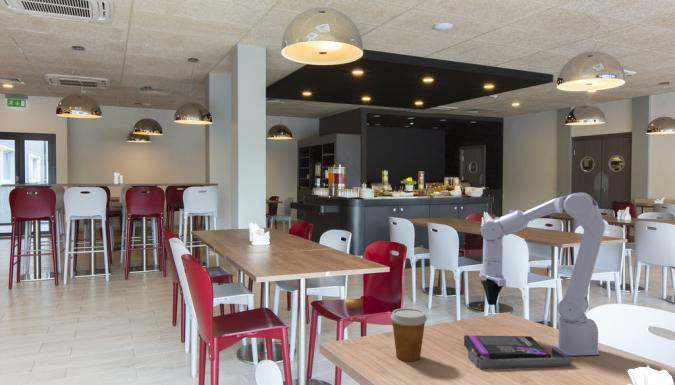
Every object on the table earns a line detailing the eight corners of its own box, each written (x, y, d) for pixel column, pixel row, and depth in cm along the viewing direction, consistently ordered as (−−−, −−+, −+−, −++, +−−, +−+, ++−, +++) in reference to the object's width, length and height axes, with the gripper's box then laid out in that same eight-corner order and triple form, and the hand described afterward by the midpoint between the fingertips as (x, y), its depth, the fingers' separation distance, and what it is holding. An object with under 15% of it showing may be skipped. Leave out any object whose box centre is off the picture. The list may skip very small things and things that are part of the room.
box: (476, 366, 124) (552, 366, 124) (476, 353, 124) (552, 353, 123) (463, 347, 138) (532, 346, 138) (463, 335, 138) (532, 334, 137)
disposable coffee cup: (427, 352, 131) (428, 309, 131) (424, 365, 122) (425, 319, 122) (393, 349, 134) (393, 306, 133) (387, 361, 125) (387, 316, 124)
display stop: (555, 355, 130) (555, 348, 130) (571, 366, 122) (571, 358, 122) (468, 358, 127) (468, 350, 127) (479, 369, 120) (479, 361, 120)
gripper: (471, 256, 153) (470, 298, 153) (489, 264, 138) (489, 311, 139) (492, 256, 153) (491, 298, 154) (513, 264, 139) (512, 310, 139)
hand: (491, 304), depth 146 cm, fingers closed
